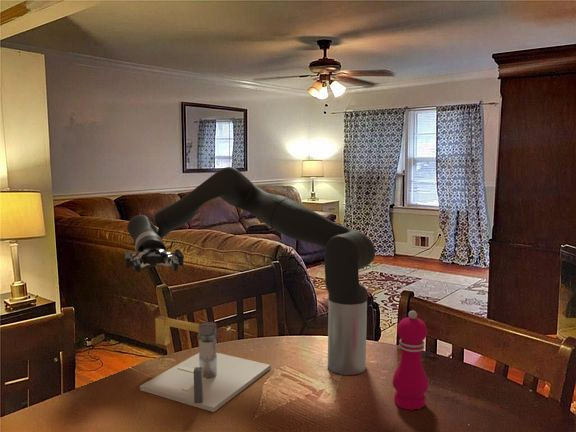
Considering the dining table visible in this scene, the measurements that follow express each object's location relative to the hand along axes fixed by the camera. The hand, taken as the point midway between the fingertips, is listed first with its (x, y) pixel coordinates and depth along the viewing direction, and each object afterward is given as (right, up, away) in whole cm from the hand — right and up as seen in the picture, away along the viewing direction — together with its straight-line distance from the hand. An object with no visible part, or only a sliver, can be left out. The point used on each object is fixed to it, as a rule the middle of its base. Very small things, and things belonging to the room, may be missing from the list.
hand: (157, 268), depth 119 cm
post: (+13, -25, -5) cm, 29 cm away
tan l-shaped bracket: (+7, -19, -3) cm, 20 cm away
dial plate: (+13, -25, -5) cm, 29 cm away
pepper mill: (+57, -27, -16) cm, 65 cm away
